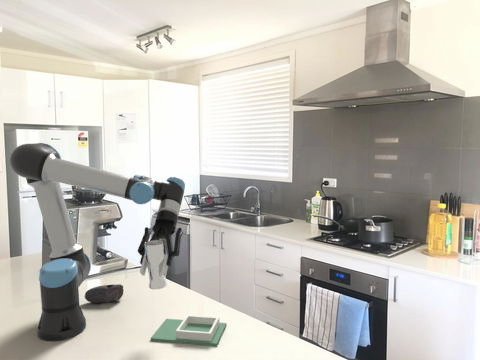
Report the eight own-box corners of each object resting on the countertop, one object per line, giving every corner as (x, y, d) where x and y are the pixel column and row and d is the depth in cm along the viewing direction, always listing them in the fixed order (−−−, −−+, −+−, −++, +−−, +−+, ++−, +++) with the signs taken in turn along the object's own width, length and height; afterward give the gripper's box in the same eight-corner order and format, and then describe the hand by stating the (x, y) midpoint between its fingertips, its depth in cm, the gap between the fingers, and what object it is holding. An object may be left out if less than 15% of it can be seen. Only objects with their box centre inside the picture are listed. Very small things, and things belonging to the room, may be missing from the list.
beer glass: (160, 280, 138) (157, 238, 136) (172, 284, 133) (169, 241, 131) (143, 286, 132) (139, 243, 131) (155, 291, 128) (152, 246, 126)
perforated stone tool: (82, 305, 155) (81, 288, 155) (87, 300, 161) (86, 283, 160) (121, 304, 156) (120, 287, 156) (124, 298, 161) (123, 282, 161)
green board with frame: (150, 340, 127) (150, 330, 127) (166, 320, 141) (166, 311, 141) (216, 346, 123) (216, 335, 123) (226, 325, 137) (226, 316, 137)
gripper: (196, 220, 144) (184, 279, 130) (145, 220, 147) (128, 278, 133) (191, 209, 138) (178, 269, 124) (138, 209, 141) (120, 268, 127)
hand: (152, 273), depth 129 cm, fingers closed on beer glass, 7 cm apart
